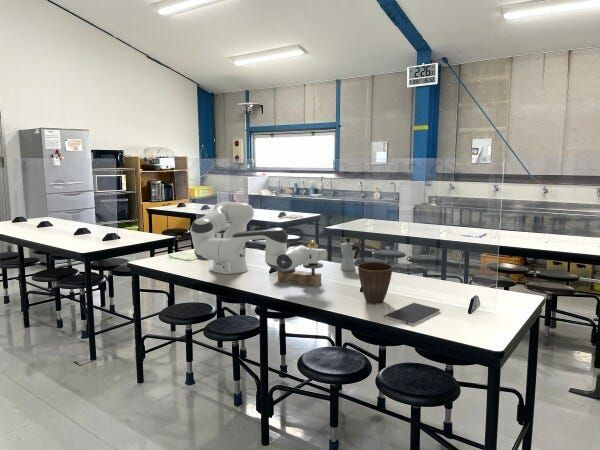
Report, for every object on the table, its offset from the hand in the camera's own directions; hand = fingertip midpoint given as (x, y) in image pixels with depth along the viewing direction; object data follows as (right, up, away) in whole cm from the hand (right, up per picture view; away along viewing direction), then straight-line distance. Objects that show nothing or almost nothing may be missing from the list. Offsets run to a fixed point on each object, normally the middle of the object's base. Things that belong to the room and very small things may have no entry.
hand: (313, 249), depth 228 cm
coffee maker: (+21, -13, +30) cm, 39 cm away
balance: (-7, -17, +6) cm, 19 cm away
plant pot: (+26, -22, -27) cm, 43 cm away
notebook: (+39, -25, -44) cm, 63 cm away
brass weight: (0, -8, 0) cm, 8 cm away
